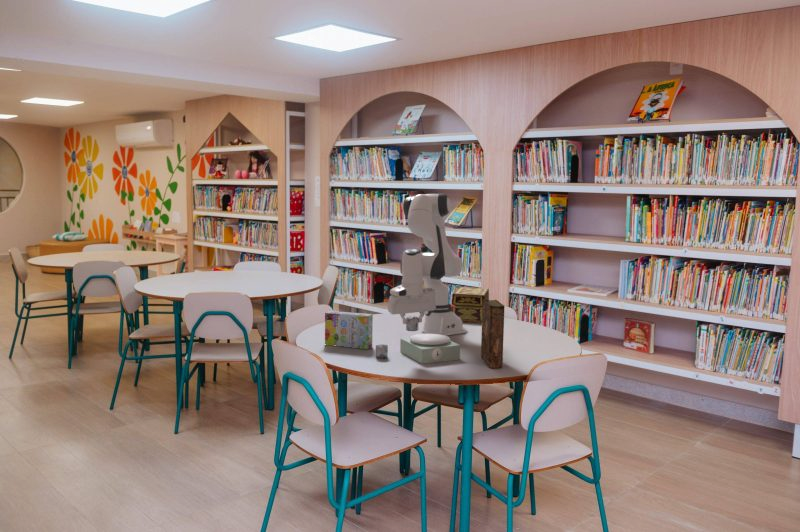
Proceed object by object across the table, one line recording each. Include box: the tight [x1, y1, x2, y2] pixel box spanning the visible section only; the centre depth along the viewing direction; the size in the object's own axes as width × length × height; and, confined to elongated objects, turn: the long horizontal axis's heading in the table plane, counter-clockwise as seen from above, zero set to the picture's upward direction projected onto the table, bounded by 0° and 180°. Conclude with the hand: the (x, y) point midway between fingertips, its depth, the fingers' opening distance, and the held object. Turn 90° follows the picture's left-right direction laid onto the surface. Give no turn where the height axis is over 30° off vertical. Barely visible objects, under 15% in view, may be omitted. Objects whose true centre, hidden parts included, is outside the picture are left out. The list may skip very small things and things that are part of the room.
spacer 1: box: [375, 343, 389, 360], centre depth 267 cm, size 5×5×5 cm
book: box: [480, 299, 505, 370], centre depth 259 cm, size 16×6×25 cm, turn 5°
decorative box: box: [450, 286, 490, 324], centre depth 352 cm, size 28×19×15 cm
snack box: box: [324, 310, 374, 350], centre depth 284 cm, size 21×6×15 cm, turn 71°
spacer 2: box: [405, 315, 419, 332], centre depth 261 cm, size 5×5×5 cm
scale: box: [399, 333, 461, 364], centre depth 270 cm, size 18×21×8 cm
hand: (412, 323), depth 261 cm, fingers closed on spacer 2, 5 cm apart
